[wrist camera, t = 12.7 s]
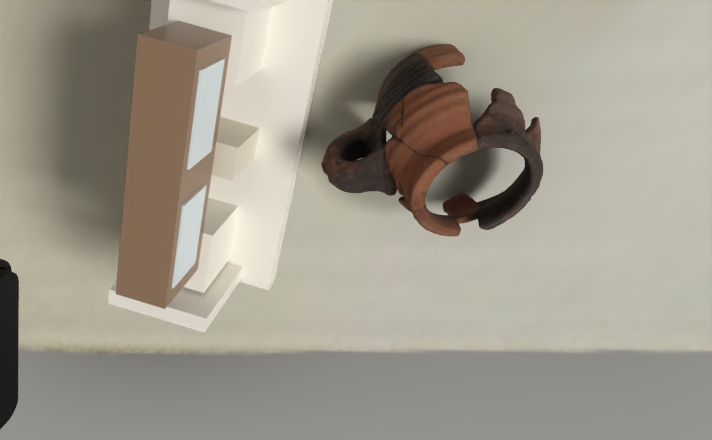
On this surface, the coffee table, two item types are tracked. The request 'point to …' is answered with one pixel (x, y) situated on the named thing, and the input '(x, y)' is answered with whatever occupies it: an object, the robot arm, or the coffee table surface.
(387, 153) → the brown curved ringed piece
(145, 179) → the tall brown box
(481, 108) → the coffee table surface
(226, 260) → the stand
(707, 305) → the coffee table surface
